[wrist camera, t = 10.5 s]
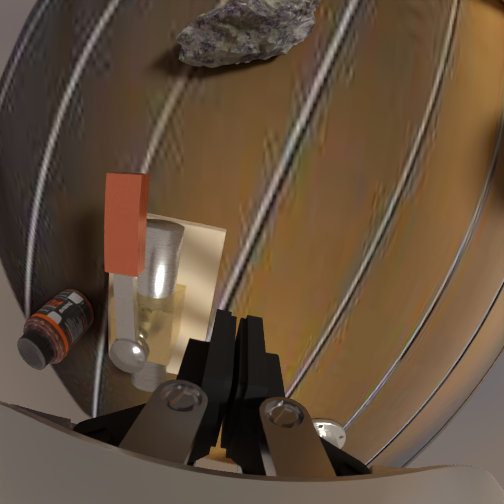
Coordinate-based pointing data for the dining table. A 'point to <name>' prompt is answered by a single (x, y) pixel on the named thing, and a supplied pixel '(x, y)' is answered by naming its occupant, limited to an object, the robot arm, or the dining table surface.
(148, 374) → the valve body
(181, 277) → the board
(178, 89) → the dining table surface
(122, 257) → the lever
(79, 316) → the supplement bottle
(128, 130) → the dining table surface
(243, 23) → the mineral rock
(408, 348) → the dining table surface
